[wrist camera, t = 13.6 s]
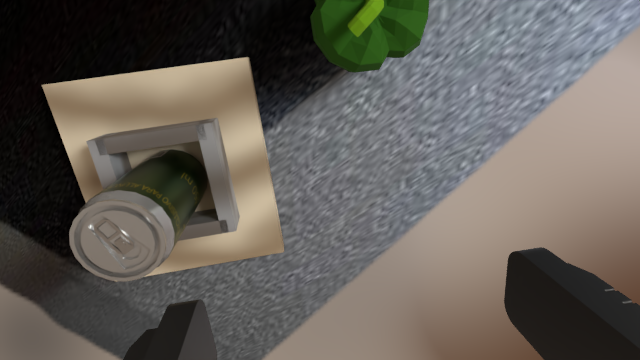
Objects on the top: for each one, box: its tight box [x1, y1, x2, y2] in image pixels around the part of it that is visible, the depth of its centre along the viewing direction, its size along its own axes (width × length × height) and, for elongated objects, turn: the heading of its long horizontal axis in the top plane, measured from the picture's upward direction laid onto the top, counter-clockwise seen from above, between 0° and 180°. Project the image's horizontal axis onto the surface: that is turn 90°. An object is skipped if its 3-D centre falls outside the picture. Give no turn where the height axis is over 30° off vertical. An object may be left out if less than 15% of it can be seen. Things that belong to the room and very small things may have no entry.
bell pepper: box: [310, 0, 429, 72], centre depth 25 cm, size 8×8×10 cm
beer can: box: [69, 149, 208, 281], centre depth 25 cm, size 5×5×12 cm
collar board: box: [42, 57, 284, 282], centre depth 30 cm, size 18×16×4 cm
